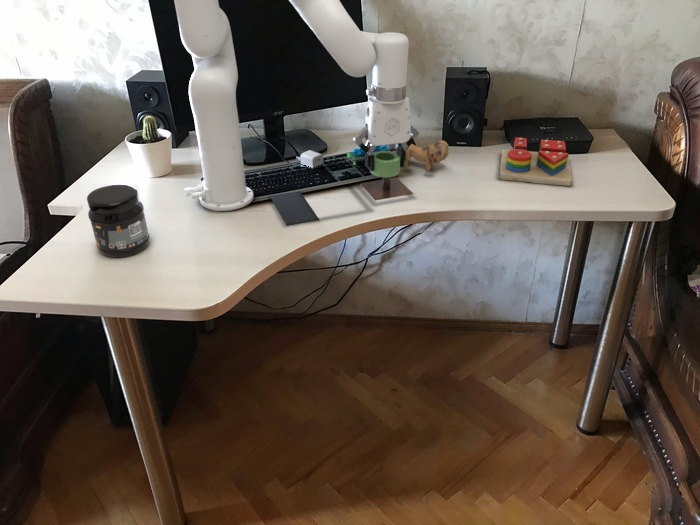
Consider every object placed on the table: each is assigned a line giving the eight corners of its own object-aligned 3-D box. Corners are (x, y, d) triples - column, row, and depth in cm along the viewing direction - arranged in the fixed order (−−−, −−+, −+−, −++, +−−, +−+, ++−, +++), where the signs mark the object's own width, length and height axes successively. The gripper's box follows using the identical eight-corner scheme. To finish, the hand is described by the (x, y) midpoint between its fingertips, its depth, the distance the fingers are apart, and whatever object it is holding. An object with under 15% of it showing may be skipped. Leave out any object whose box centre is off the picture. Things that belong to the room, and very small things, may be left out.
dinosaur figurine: (387, 152, 162) (388, 137, 152) (391, 172, 161) (392, 158, 151) (347, 159, 162) (345, 144, 152) (350, 179, 161) (349, 166, 151)
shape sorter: (567, 160, 162) (571, 139, 158) (571, 186, 147) (576, 164, 144) (501, 154, 165) (504, 133, 162) (499, 179, 151) (502, 157, 148)
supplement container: (105, 234, 128) (92, 183, 122) (155, 232, 129) (145, 181, 122) (91, 260, 119) (76, 206, 113) (144, 258, 120) (133, 205, 113)
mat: (286, 225, 131) (286, 224, 131) (270, 197, 143) (270, 195, 143) (370, 210, 137) (370, 209, 137) (348, 184, 149) (348, 183, 149)
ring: (376, 179, 138) (377, 163, 136) (365, 167, 144) (366, 152, 141) (404, 175, 140) (405, 160, 138) (392, 164, 146) (393, 149, 144)
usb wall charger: (312, 172, 155) (312, 158, 153) (294, 165, 159) (293, 151, 157) (323, 167, 158) (322, 153, 156) (304, 161, 162) (303, 147, 160)
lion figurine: (449, 171, 156) (452, 138, 151) (443, 179, 151) (446, 145, 147) (396, 162, 161) (397, 130, 156) (389, 170, 156) (390, 137, 152)
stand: (374, 204, 139) (375, 176, 136) (359, 187, 147) (359, 160, 144) (413, 198, 142) (415, 170, 139) (396, 181, 150) (397, 155, 146)
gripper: (358, 101, 126) (356, 178, 136) (431, 93, 131) (424, 168, 141) (346, 91, 132) (345, 165, 142) (416, 84, 137) (411, 156, 147)
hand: (385, 166), depth 141 cm, fingers closed on ring, 7 cm apart
